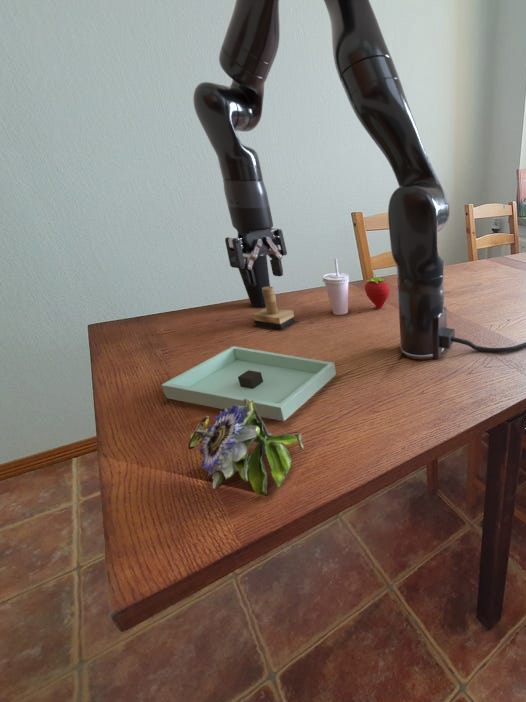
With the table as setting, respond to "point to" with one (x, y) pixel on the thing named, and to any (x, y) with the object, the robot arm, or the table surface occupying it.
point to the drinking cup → (258, 280)
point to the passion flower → (243, 447)
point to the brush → (273, 313)
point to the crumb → (250, 379)
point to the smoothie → (337, 290)
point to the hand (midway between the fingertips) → (265, 280)
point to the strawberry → (377, 291)
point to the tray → (269, 397)
